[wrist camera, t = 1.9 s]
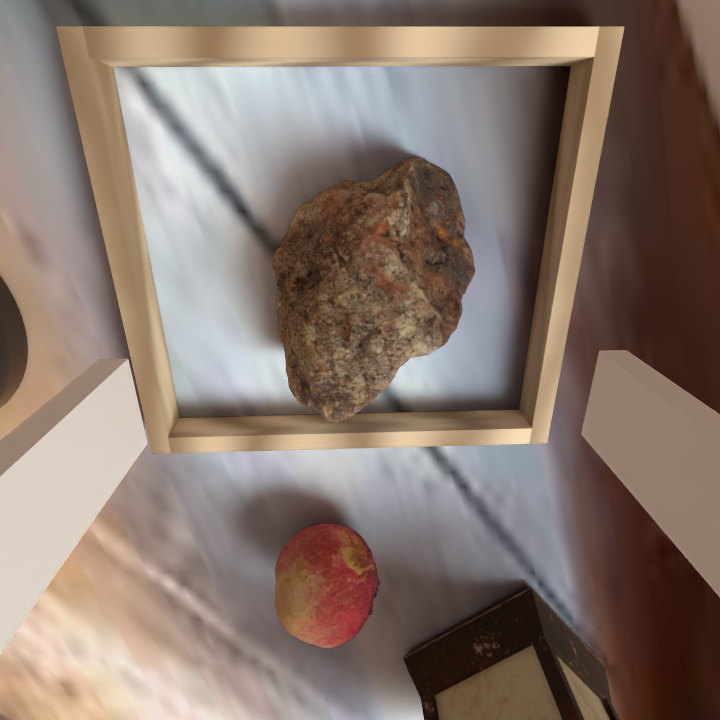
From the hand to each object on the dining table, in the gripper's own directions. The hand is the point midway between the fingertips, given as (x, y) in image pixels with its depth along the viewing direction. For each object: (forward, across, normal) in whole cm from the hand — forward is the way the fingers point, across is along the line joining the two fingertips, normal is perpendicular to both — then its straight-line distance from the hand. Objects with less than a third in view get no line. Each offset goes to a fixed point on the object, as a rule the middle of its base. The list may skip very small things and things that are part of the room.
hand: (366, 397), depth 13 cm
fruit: (+17, -2, -22) cm, 28 cm away
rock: (+17, 0, 0) cm, 17 cm away
